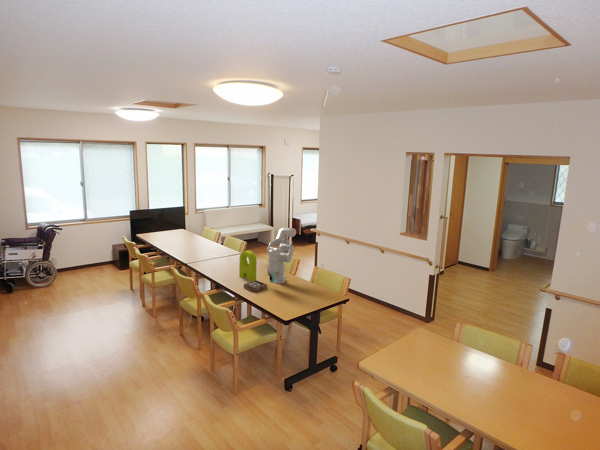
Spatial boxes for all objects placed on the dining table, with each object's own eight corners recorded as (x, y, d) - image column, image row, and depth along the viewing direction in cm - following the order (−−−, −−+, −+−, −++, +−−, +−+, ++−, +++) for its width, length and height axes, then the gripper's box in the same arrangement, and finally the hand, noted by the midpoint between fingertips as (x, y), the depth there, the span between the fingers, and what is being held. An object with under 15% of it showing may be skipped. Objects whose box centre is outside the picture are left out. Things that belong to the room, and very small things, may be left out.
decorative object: (256, 280, 396) (256, 252, 390) (251, 281, 391) (251, 253, 386) (244, 275, 409) (244, 248, 404) (239, 276, 404) (239, 249, 399)
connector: (272, 281, 374) (272, 270, 372) (275, 282, 372) (275, 271, 370) (269, 282, 372) (269, 271, 369) (272, 283, 369) (272, 272, 367)
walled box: (255, 284, 383) (256, 280, 382) (266, 288, 372) (266, 284, 371) (243, 288, 371) (243, 283, 370) (254, 292, 360) (254, 288, 360)
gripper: (275, 259, 376) (275, 276, 380) (263, 263, 363) (263, 280, 368) (281, 261, 371) (281, 278, 375) (269, 264, 359) (268, 282, 363)
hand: (272, 279), depth 371 cm, fingers closed on connector, 3 cm apart
